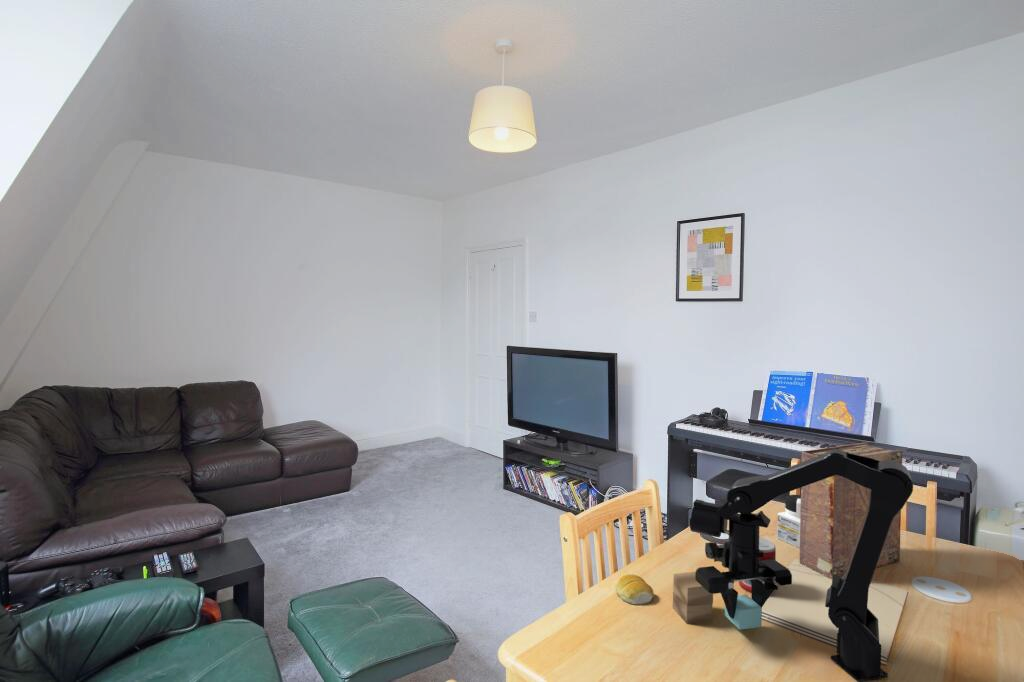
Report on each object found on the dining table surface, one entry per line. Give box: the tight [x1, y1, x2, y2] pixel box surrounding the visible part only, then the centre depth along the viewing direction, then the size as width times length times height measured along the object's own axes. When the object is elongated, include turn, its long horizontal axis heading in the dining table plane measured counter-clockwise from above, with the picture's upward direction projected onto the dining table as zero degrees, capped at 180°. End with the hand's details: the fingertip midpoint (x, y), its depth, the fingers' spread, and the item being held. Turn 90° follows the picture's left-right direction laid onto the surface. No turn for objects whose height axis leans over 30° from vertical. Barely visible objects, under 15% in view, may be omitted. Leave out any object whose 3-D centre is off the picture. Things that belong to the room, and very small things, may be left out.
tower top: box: [672, 571, 714, 606], centre depth 112 cm, size 6×6×4 cm
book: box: [799, 441, 903, 580], centre depth 134 cm, size 25×9×30 cm, turn 111°
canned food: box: [738, 536, 777, 594], centre depth 123 cm, size 8×8×11 cm
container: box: [776, 494, 801, 549], centre depth 148 cm, size 8×8×13 cm
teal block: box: [724, 594, 763, 631], centre depth 106 cm, size 5×5×4 cm
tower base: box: [672, 591, 714, 625], centre depth 112 cm, size 6×6×4 cm
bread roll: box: [615, 574, 654, 605], centre depth 121 cm, size 8×9×4 cm
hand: (742, 615), depth 106 cm, fingers closed on teal block, 5 cm apart
